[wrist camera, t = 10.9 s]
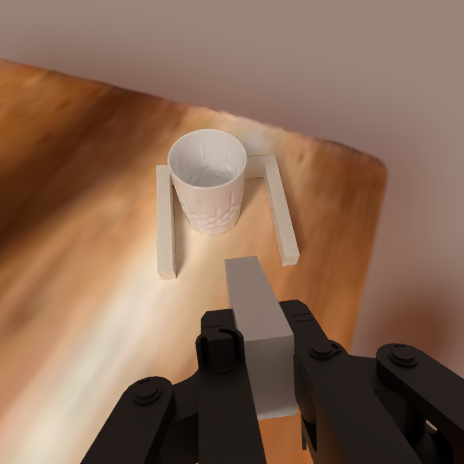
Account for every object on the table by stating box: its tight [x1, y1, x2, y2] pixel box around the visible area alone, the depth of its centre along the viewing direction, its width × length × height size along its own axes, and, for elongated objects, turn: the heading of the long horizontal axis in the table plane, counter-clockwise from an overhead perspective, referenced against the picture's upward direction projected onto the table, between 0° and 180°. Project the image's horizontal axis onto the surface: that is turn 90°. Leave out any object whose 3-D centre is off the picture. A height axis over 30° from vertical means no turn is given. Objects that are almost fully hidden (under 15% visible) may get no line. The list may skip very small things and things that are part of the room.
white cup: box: [167, 129, 247, 235], centre depth 38 cm, size 8×8×10 cm
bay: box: [156, 154, 300, 280], centre depth 41 cm, size 15×15×2 cm
